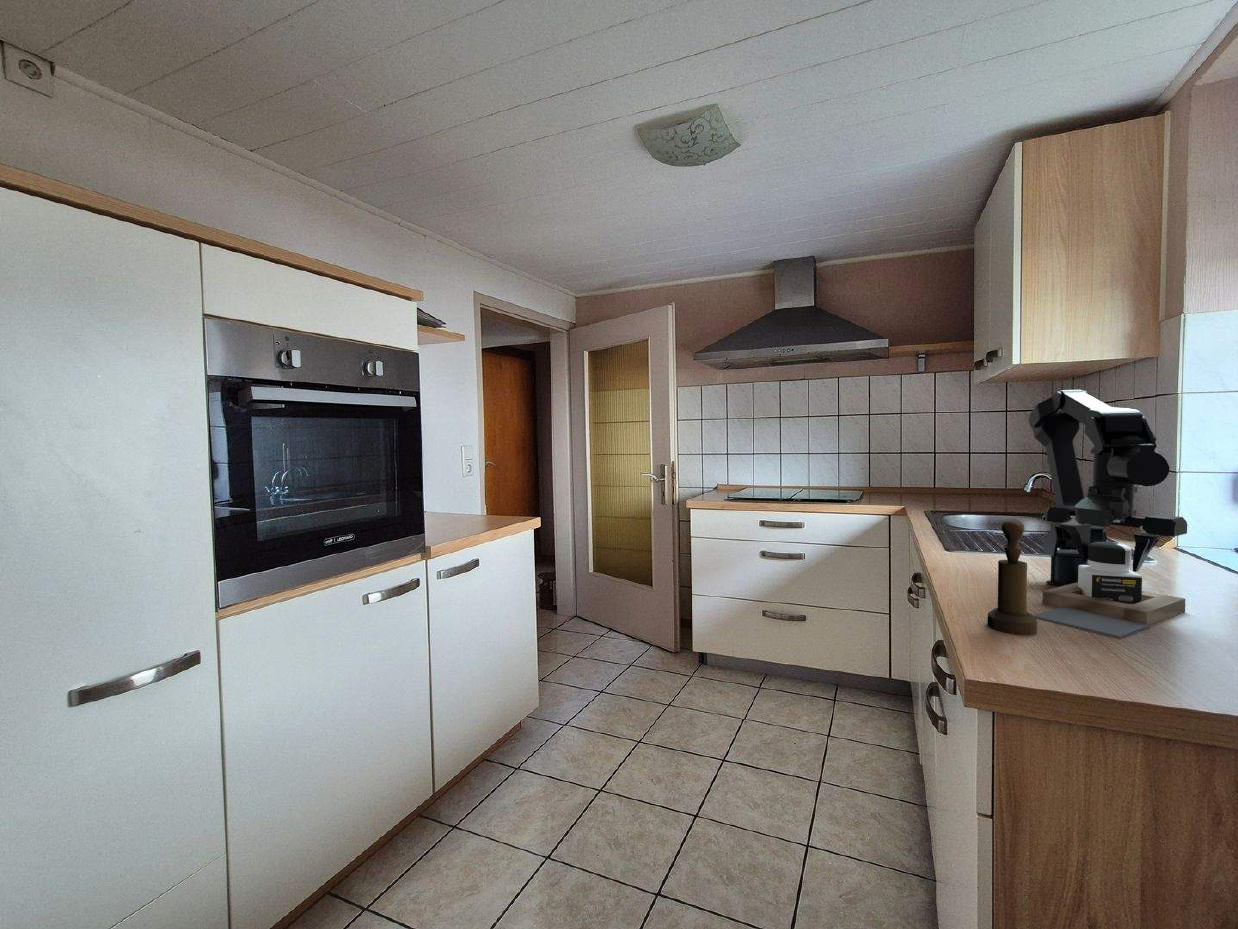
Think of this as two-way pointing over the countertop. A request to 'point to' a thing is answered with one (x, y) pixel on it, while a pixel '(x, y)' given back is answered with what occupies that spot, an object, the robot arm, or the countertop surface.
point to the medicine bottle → (1110, 574)
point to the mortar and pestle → (1012, 588)
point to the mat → (1092, 622)
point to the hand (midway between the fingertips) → (1109, 567)
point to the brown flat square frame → (1117, 605)
